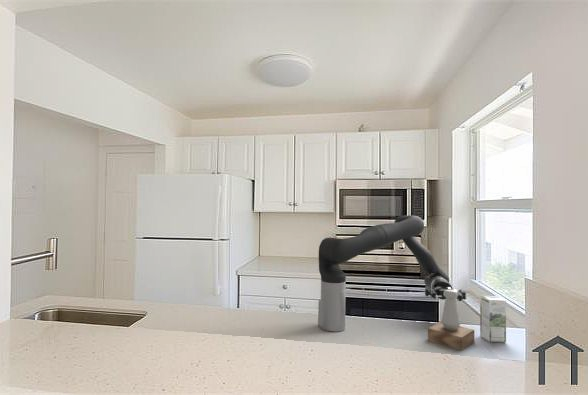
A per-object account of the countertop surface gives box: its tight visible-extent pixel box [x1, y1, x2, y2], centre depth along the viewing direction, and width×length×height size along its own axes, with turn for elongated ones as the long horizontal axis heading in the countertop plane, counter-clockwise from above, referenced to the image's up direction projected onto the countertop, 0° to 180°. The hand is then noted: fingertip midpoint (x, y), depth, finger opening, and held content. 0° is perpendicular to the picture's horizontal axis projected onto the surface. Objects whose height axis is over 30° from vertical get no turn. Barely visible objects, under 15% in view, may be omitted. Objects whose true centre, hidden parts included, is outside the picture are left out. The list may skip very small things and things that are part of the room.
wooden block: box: [427, 321, 475, 351], centre depth 109 cm, size 11×11×4 cm
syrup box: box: [479, 295, 507, 343], centre depth 111 cm, size 6×6×14 cm
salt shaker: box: [440, 289, 461, 331], centre depth 109 cm, size 6×6×13 cm
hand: (447, 297), depth 118 cm, fingers open, 8 cm apart
